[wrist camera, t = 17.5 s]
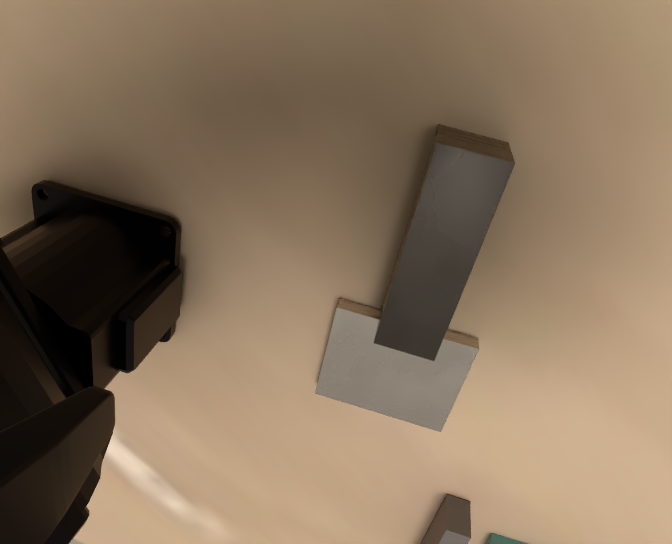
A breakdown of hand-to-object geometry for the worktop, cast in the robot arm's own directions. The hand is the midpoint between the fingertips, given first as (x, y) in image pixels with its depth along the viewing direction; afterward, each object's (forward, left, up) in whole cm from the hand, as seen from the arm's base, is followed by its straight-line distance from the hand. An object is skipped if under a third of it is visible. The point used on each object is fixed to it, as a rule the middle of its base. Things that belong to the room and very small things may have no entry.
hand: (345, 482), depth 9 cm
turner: (+1, -3, -12) cm, 13 cm away
